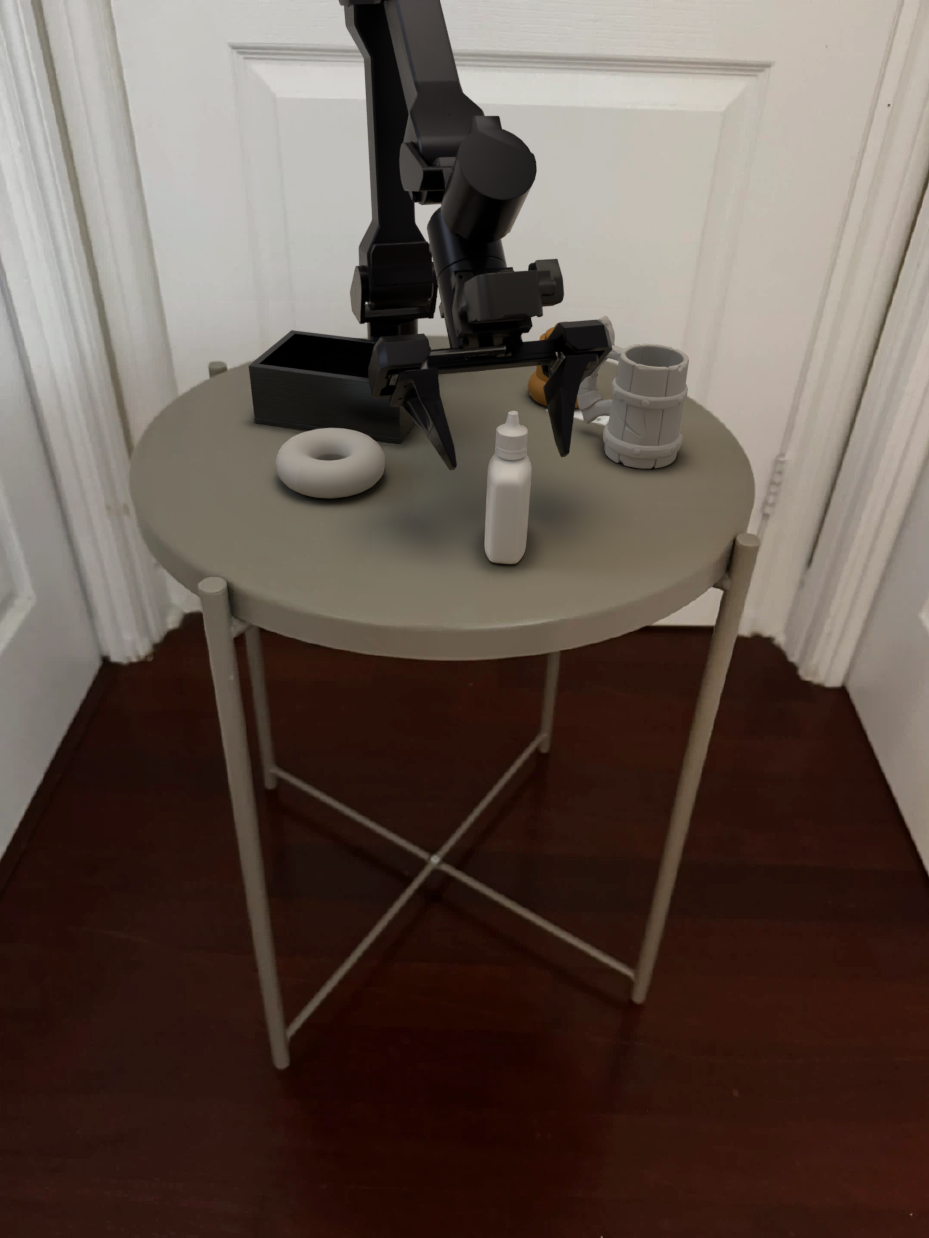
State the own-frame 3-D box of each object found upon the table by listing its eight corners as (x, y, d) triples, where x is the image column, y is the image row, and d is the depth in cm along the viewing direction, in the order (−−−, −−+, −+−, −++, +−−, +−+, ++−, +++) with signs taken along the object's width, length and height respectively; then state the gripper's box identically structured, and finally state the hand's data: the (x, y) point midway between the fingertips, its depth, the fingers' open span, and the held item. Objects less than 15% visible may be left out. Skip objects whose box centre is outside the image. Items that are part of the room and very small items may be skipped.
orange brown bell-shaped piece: (609, 401, 102) (557, 417, 99) (564, 379, 107) (513, 393, 103) (618, 329, 97) (564, 342, 94) (571, 309, 102) (517, 321, 99)
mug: (652, 479, 88) (672, 355, 81) (552, 440, 94) (562, 321, 87) (694, 452, 93) (716, 333, 86) (596, 417, 99) (609, 303, 92)
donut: (398, 462, 90) (298, 448, 91) (398, 428, 88) (296, 415, 89) (368, 513, 82) (260, 497, 83) (367, 478, 80) (256, 462, 81)
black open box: (296, 384, 104) (291, 330, 100) (431, 402, 101) (431, 347, 97) (254, 423, 96) (248, 365, 92) (400, 444, 93) (399, 385, 89)
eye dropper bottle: (464, 554, 77) (468, 417, 70) (500, 525, 80) (508, 393, 73) (509, 571, 75) (518, 433, 68) (544, 541, 79) (556, 407, 71)
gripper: (370, 224, 65) (411, 438, 63) (617, 211, 69) (662, 411, 67) (353, 303, 76) (387, 488, 74) (568, 287, 80) (605, 461, 78)
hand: (510, 462), depth 73 cm, fingers open, 9 cm apart
